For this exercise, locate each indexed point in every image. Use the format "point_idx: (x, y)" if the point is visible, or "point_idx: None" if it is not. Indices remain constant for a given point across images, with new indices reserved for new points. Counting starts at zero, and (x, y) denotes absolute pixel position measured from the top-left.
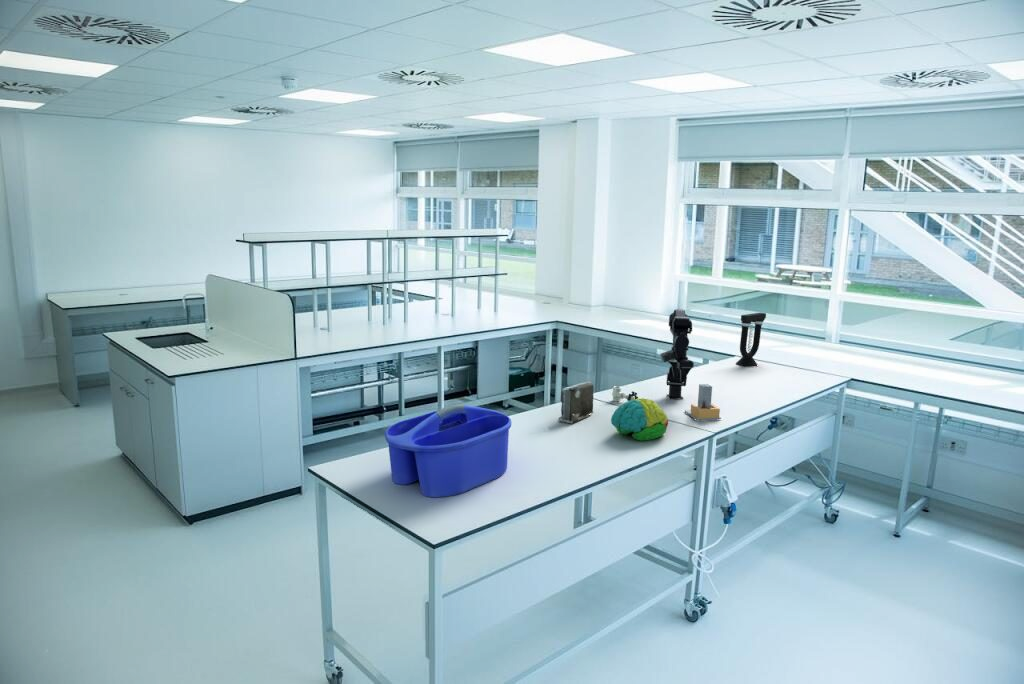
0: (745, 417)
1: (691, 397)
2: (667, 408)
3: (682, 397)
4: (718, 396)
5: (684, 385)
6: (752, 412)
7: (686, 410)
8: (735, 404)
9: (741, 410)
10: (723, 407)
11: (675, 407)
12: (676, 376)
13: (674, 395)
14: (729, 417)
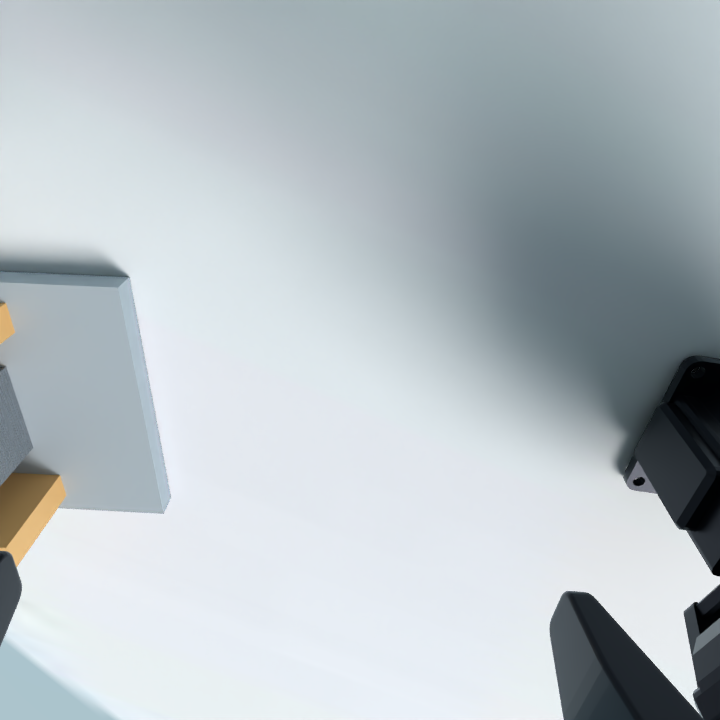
0: (28, 644)
1: (644, 562)
2: (320, 142)
3: (649, 488)
4: None
5: (689, 618)
6: (155, 714)
7: (115, 307)
8: (352, 715)
9: (202, 688)
10: (288, 634)
11: (348, 268)
12: (553, 652)
13: (676, 422)
14: None
